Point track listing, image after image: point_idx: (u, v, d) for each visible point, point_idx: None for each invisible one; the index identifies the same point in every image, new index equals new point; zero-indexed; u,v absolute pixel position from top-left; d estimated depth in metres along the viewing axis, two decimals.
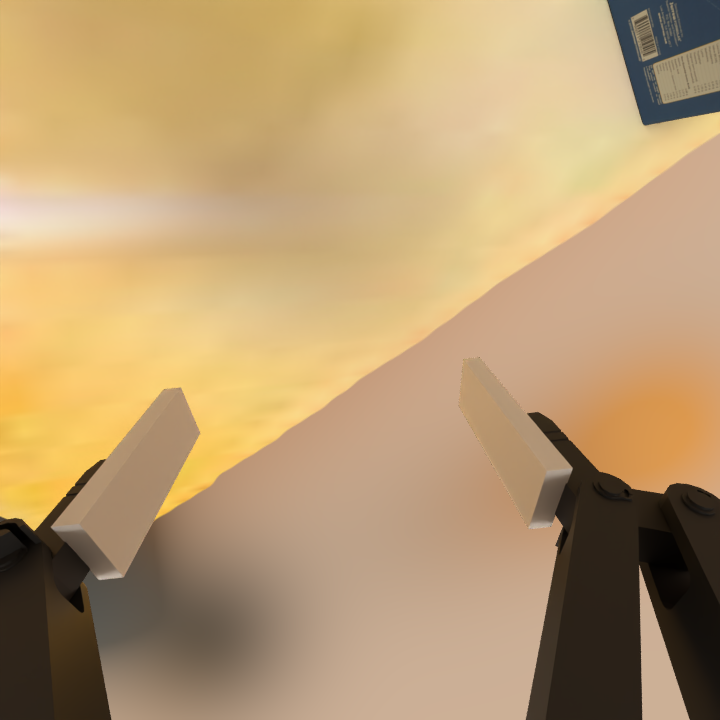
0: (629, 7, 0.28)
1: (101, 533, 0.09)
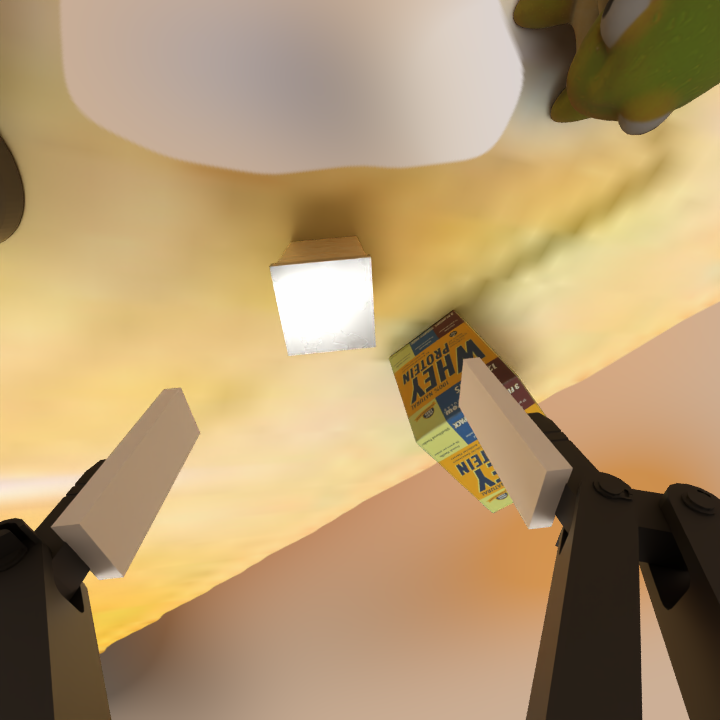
0: None
1: (101, 533, 0.09)
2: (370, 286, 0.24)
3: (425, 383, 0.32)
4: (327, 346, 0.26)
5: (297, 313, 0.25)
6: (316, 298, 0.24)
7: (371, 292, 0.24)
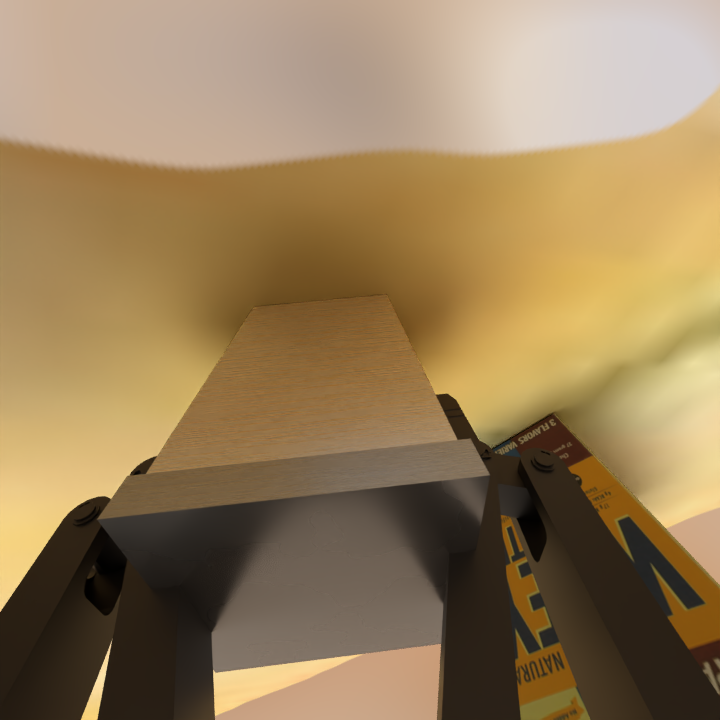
0: None
1: None
2: (470, 542, 0.07)
3: (532, 610, 0.15)
4: (324, 647, 0.09)
5: (230, 607, 0.08)
6: (287, 577, 0.07)
7: None
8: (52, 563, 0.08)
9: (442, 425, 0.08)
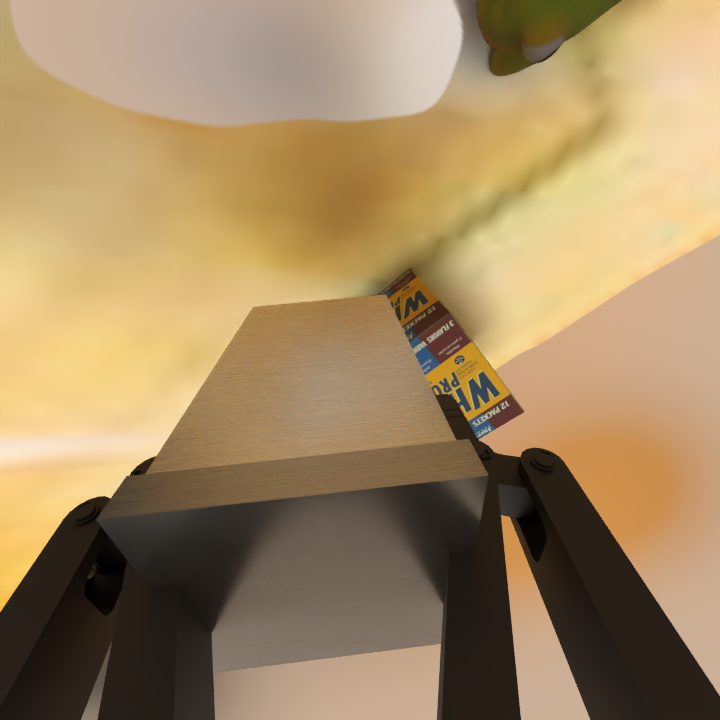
0: None
1: None
2: (469, 542, 0.07)
3: None
4: (323, 647, 0.09)
5: (229, 607, 0.08)
6: (287, 577, 0.07)
7: None
8: (52, 563, 0.08)
9: (441, 425, 0.08)
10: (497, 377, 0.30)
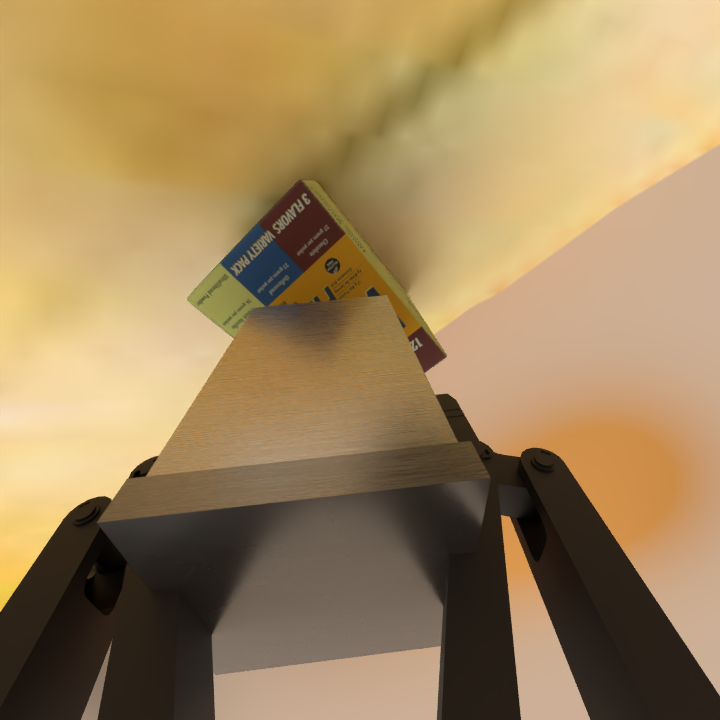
0: None
1: None
2: (471, 544, 0.07)
3: None
4: (324, 649, 0.09)
5: (230, 610, 0.08)
6: (288, 580, 0.07)
7: None
8: (52, 563, 0.08)
9: (442, 427, 0.08)
10: (397, 298, 0.21)
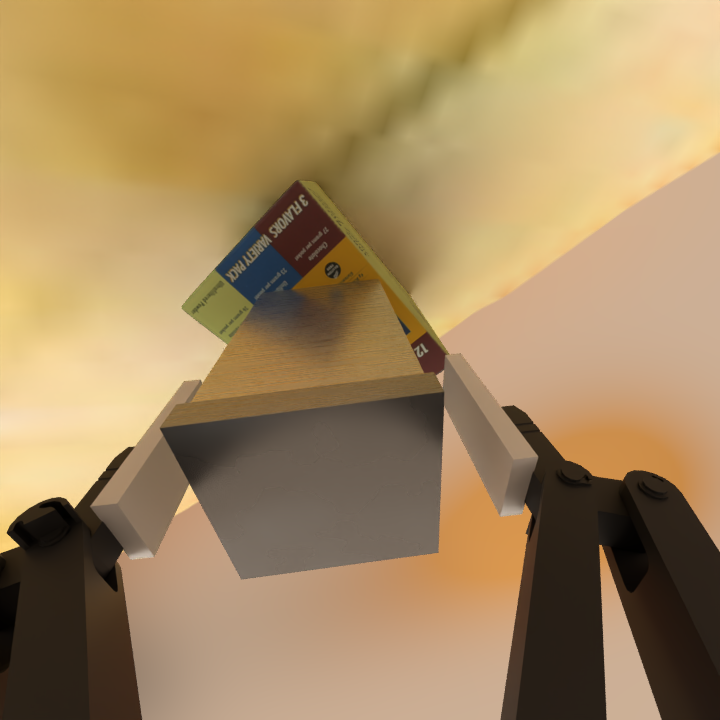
0: None
1: (135, 514, 0.10)
2: (436, 452, 0.09)
3: None
4: (328, 557, 0.12)
5: (253, 512, 0.10)
6: (297, 483, 0.09)
7: (438, 463, 0.10)
8: None
9: (414, 366, 0.10)
10: (401, 303, 0.20)
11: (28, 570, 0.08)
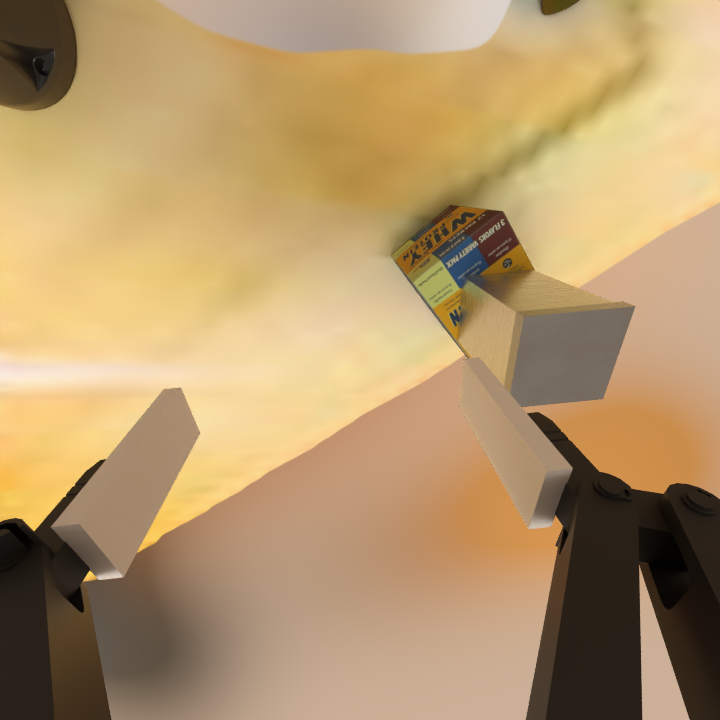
0: None
1: (101, 533, 0.09)
2: (622, 336, 0.22)
3: (422, 250, 0.36)
4: (550, 398, 0.24)
5: (534, 364, 0.22)
6: (560, 349, 0.22)
7: (621, 342, 0.22)
8: None
9: (608, 301, 0.22)
10: None
11: None
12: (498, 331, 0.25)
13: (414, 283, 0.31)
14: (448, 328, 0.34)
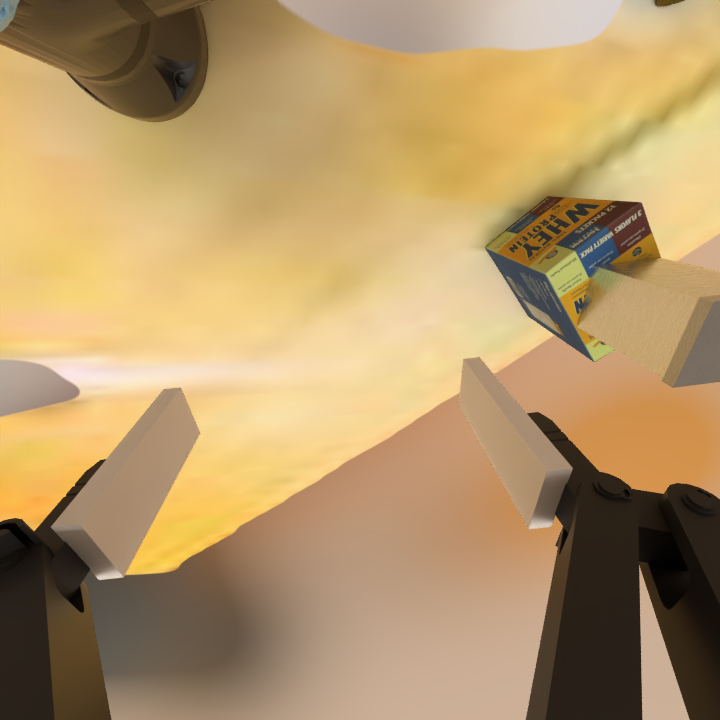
0: (503, 271, 0.46)
1: (101, 533, 0.09)
2: None
3: (538, 242, 0.37)
4: (713, 377, 0.26)
5: (709, 346, 0.24)
6: None
7: None
8: None
9: None
10: None
11: None
12: (660, 316, 0.26)
13: (547, 274, 0.33)
14: (570, 316, 0.36)
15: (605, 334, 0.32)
